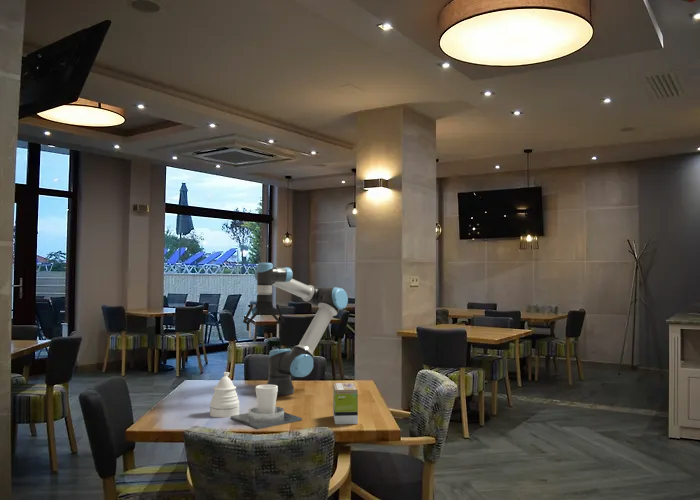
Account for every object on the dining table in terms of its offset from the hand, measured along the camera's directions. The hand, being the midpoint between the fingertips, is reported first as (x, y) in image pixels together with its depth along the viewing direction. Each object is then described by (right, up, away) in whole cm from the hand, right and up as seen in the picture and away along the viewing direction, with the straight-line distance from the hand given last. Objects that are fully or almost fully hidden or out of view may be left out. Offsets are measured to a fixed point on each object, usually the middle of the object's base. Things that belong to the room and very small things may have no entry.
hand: (263, 337), depth 278 cm
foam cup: (+6, -29, -33) cm, 45 cm away
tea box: (+40, -31, -33) cm, 60 cm away
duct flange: (+6, -30, -33) cm, 45 cm away
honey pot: (-14, -31, -24) cm, 41 cm away
